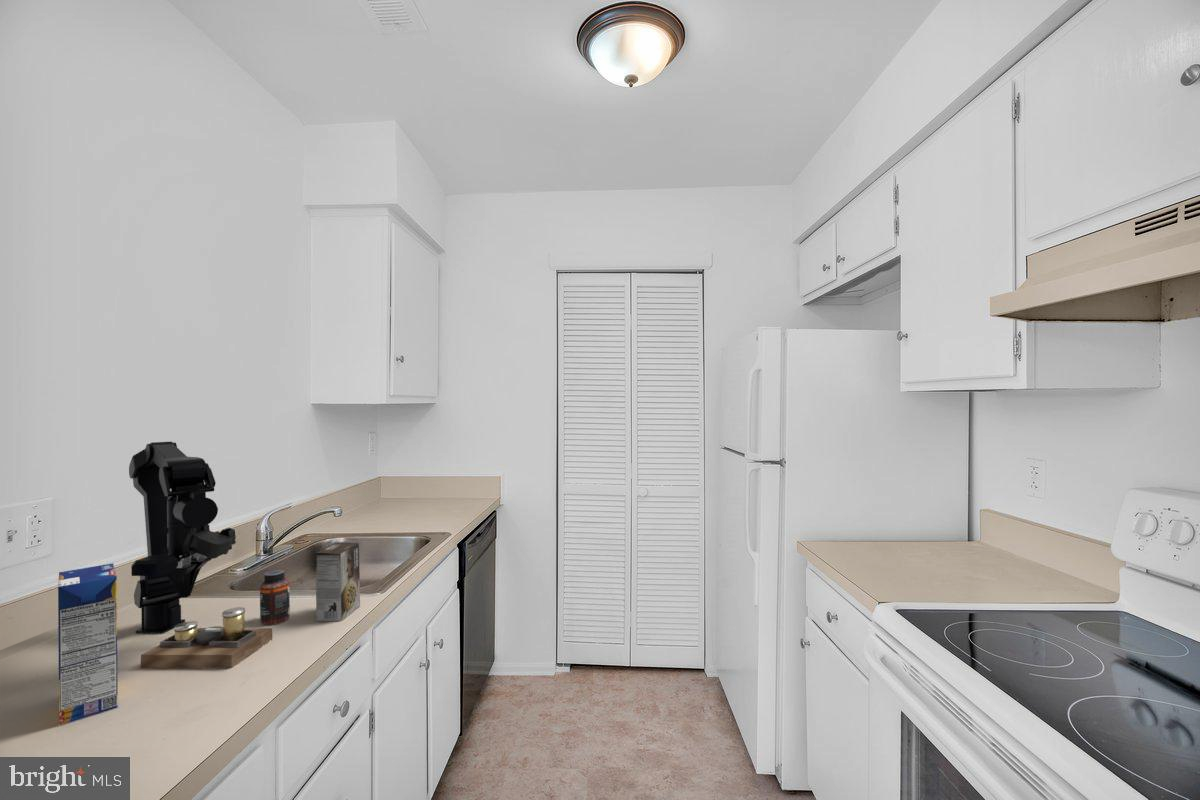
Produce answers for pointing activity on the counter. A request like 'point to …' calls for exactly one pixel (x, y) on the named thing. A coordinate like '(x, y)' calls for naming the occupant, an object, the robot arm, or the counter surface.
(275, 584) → the supplement bottle
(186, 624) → the knob left
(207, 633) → the dial
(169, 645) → the mount
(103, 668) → the beverage box
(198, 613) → the counter surface
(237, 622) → the knob right
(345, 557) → the coffee box
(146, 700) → the counter surface
